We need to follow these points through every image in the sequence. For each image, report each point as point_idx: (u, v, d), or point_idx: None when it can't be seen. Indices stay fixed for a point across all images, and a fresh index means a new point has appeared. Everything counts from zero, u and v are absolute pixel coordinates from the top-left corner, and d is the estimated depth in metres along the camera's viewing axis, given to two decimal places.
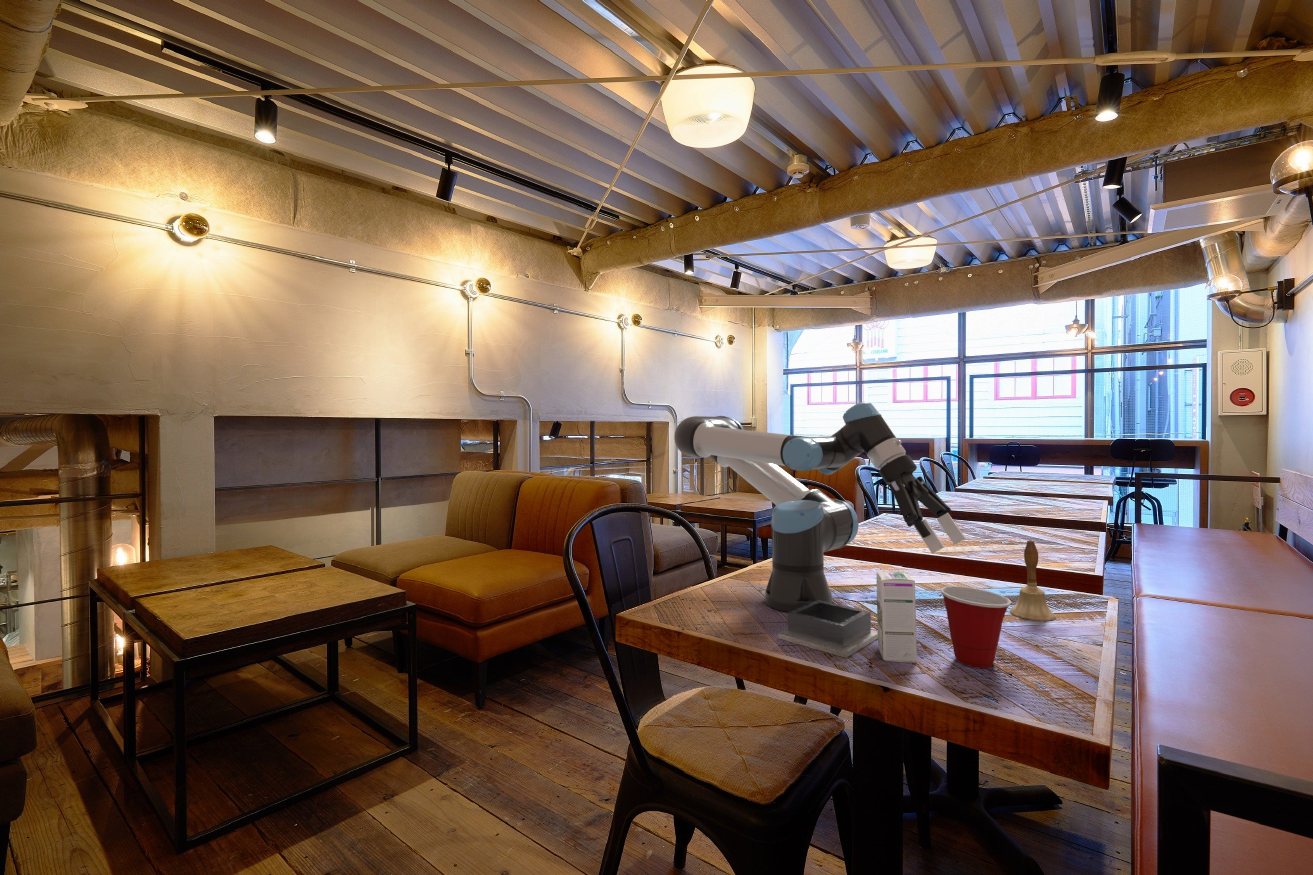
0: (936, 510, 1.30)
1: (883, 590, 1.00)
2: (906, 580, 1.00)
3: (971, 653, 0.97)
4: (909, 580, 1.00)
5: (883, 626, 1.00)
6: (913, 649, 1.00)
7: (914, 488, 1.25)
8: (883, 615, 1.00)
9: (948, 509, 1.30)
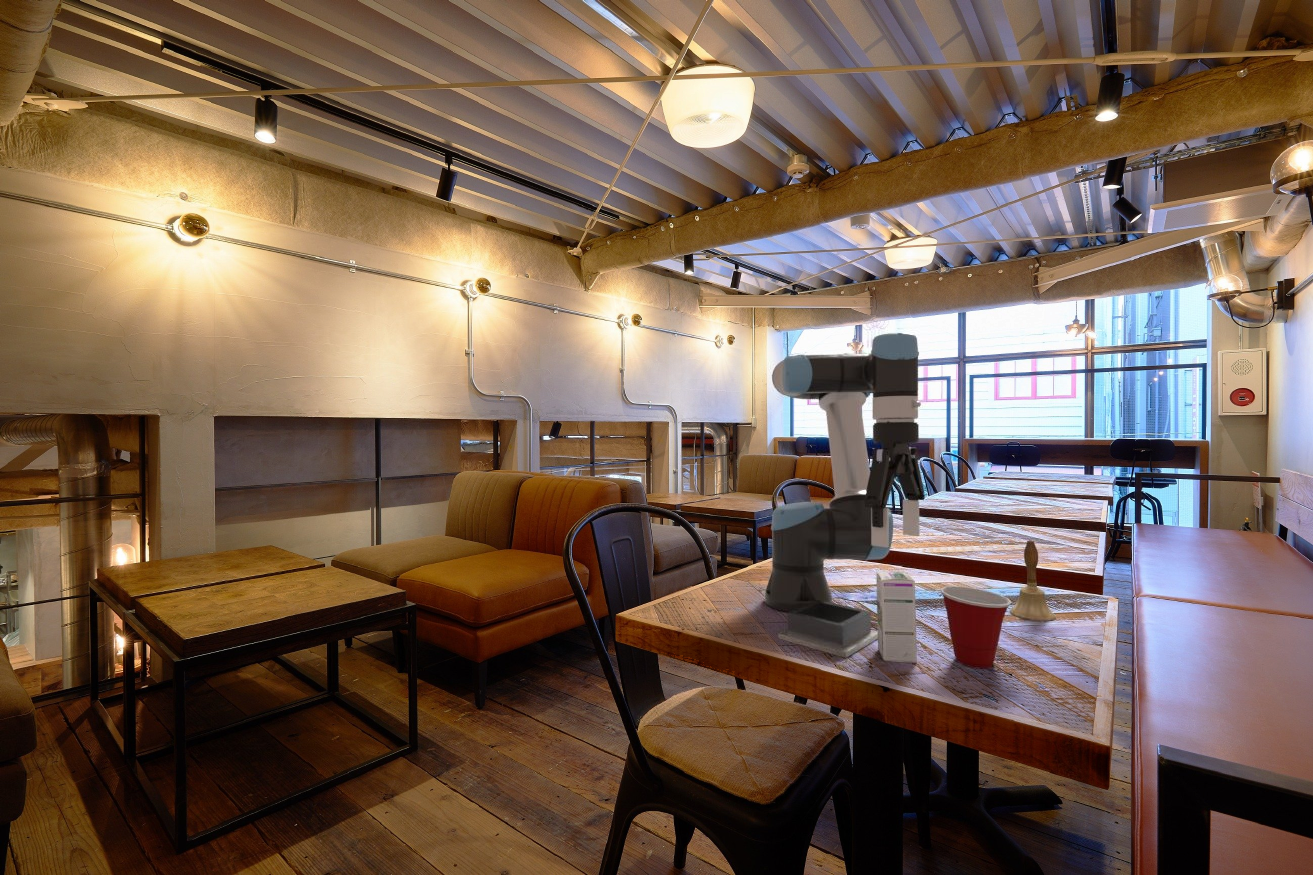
0: (908, 492, 1.07)
1: (883, 590, 1.00)
2: (906, 580, 1.00)
3: (971, 653, 0.97)
4: (909, 580, 1.00)
5: (883, 626, 1.00)
6: (913, 649, 1.00)
7: (899, 466, 0.99)
8: (883, 615, 1.00)
9: (921, 497, 1.07)
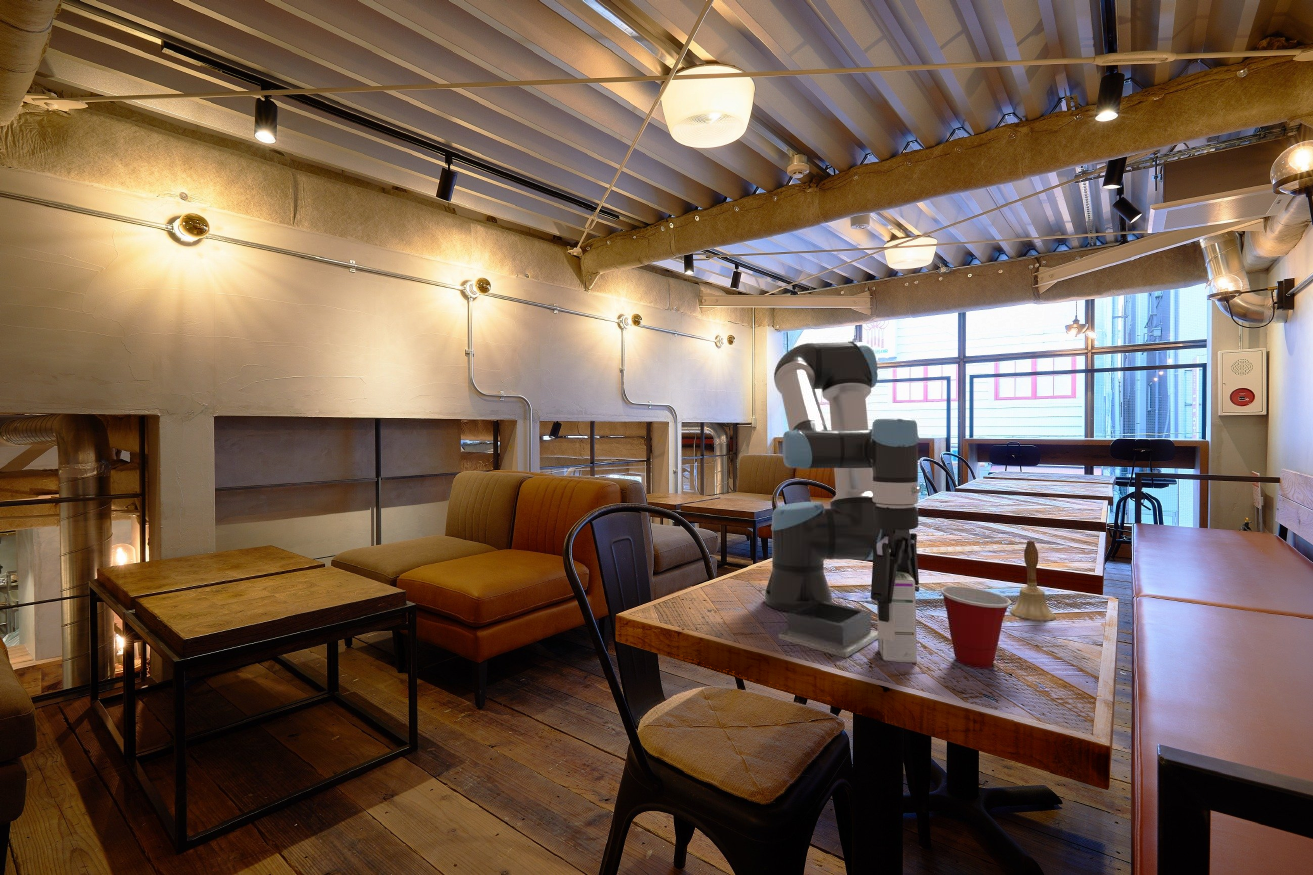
0: None
1: None
2: (906, 580, 1.00)
3: (971, 653, 0.97)
4: (909, 580, 1.00)
5: None
6: (913, 649, 1.00)
7: (900, 554, 1.00)
8: None
9: (916, 588, 1.05)
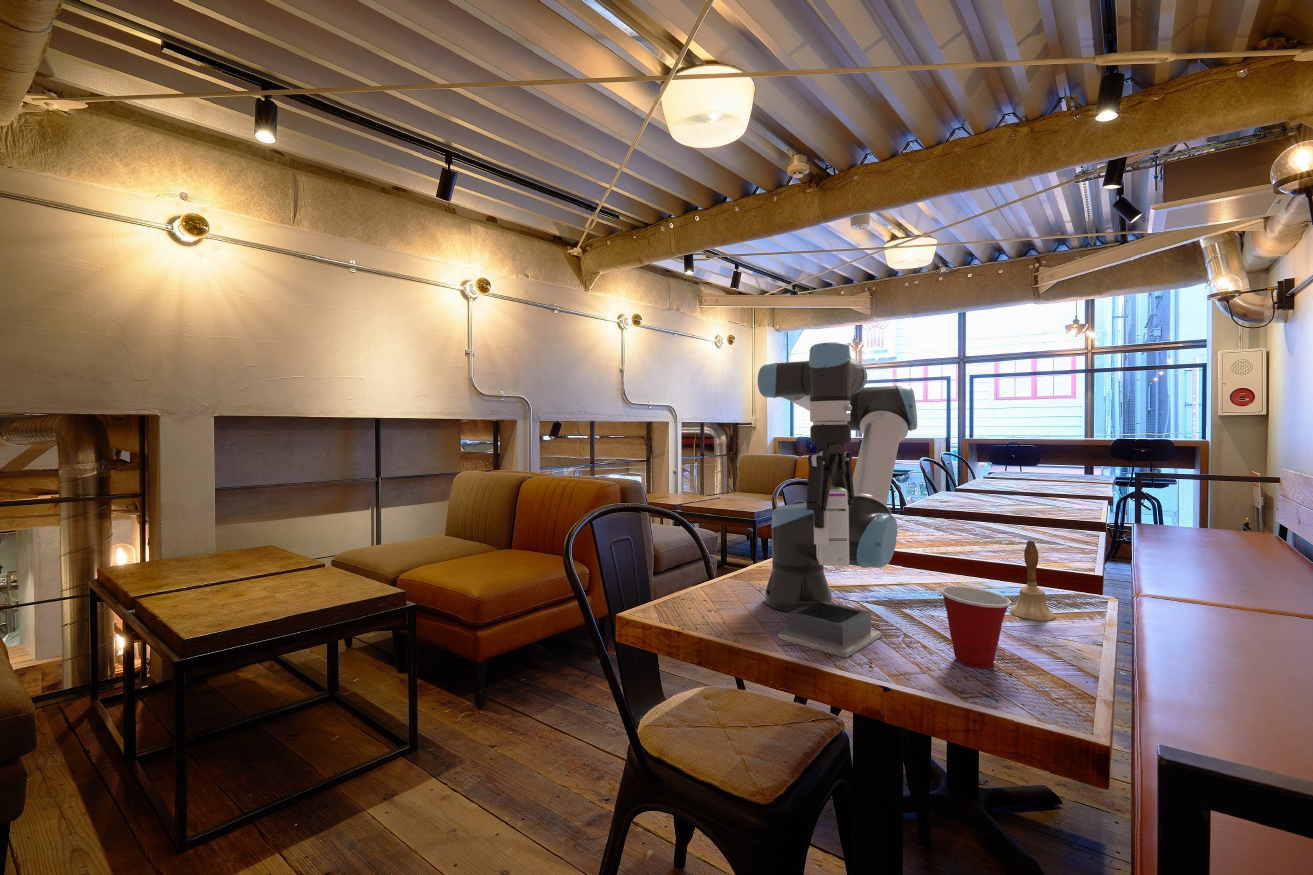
0: None
1: None
2: (839, 490, 1.09)
3: (971, 653, 0.97)
4: (842, 490, 1.09)
5: None
6: (846, 553, 1.09)
7: (833, 466, 1.08)
8: None
9: (851, 502, 1.14)
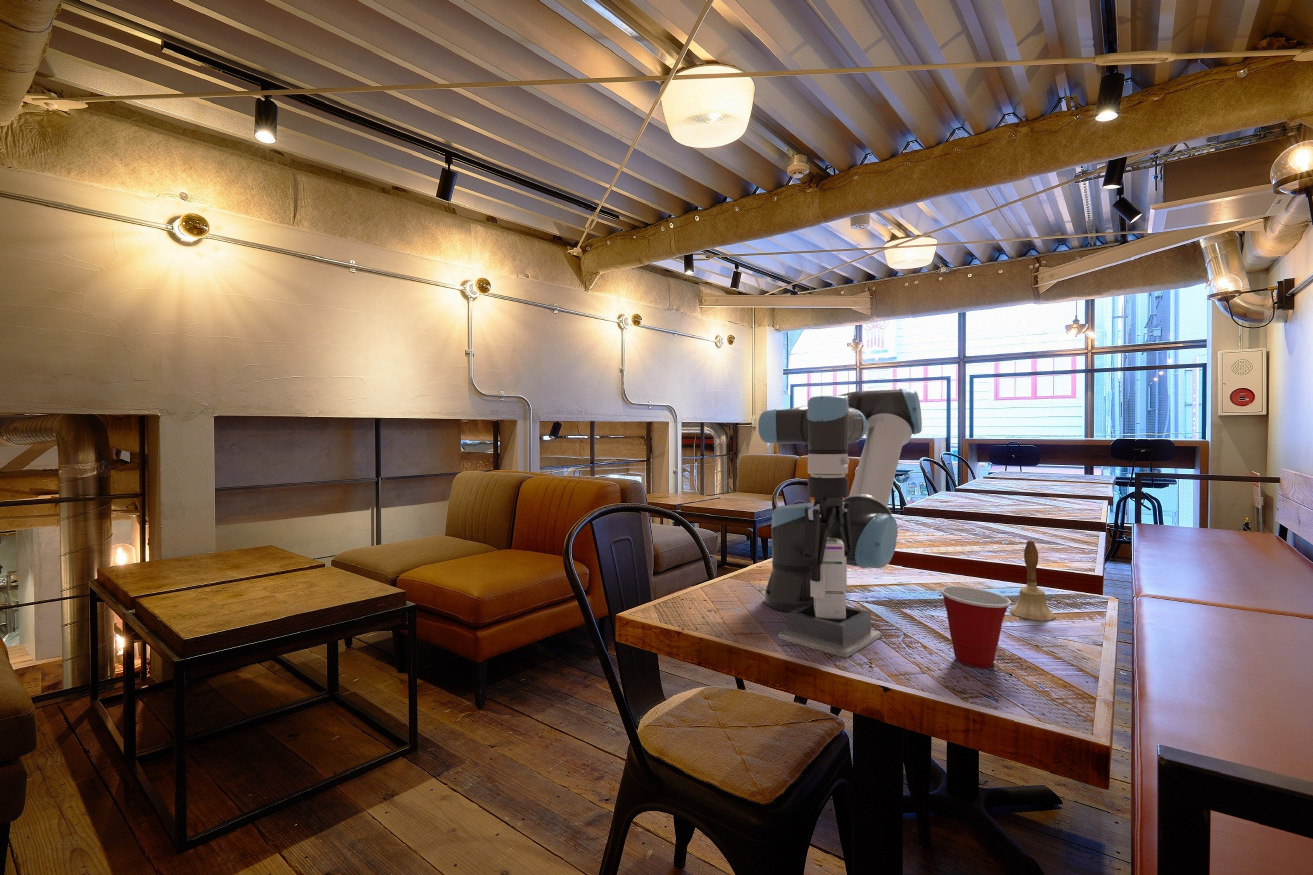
0: None
1: None
2: (836, 543, 1.09)
3: (971, 653, 0.97)
4: (839, 543, 1.09)
5: None
6: (842, 606, 1.09)
7: (830, 519, 1.09)
8: None
9: (849, 553, 1.14)
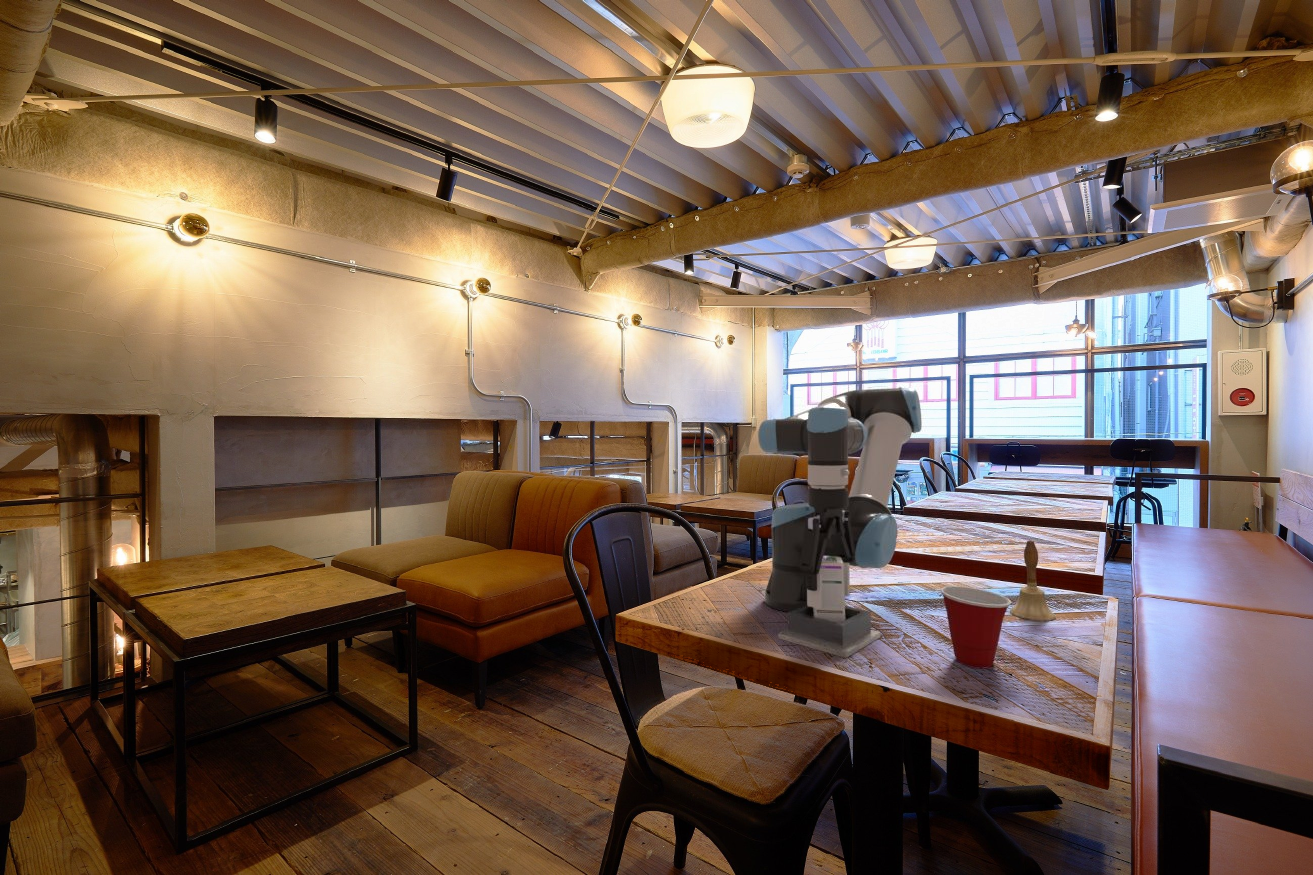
0: (840, 553, 1.15)
1: None
2: (836, 563, 1.09)
3: (971, 653, 0.97)
4: (838, 563, 1.09)
5: None
6: None
7: (830, 530, 1.09)
8: None
9: (852, 559, 1.15)
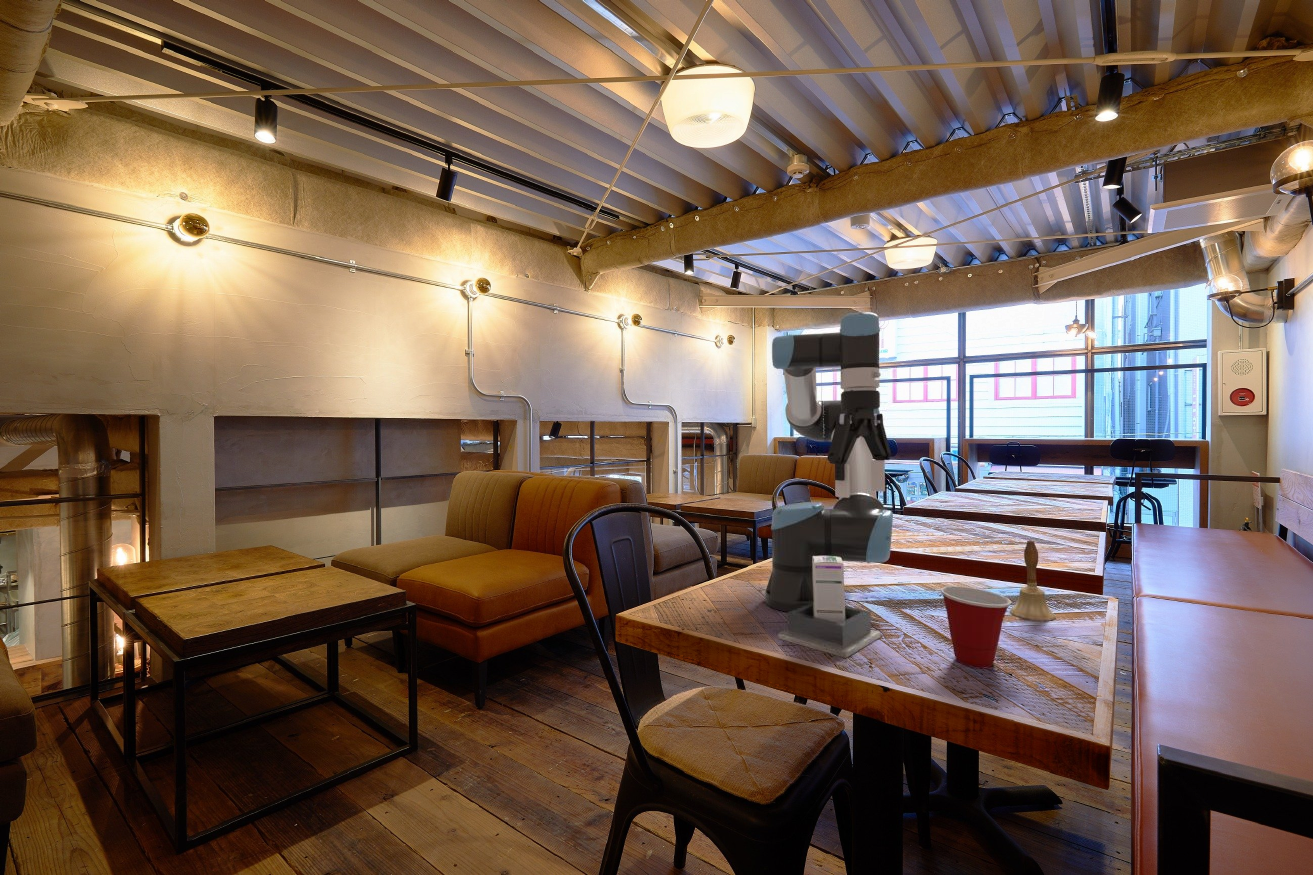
0: (875, 453, 1.22)
1: (815, 572, 1.09)
2: (836, 563, 1.09)
3: (971, 653, 0.97)
4: (838, 563, 1.09)
5: (815, 605, 1.10)
6: None
7: (860, 428, 1.15)
8: (815, 595, 1.10)
9: (887, 457, 1.21)
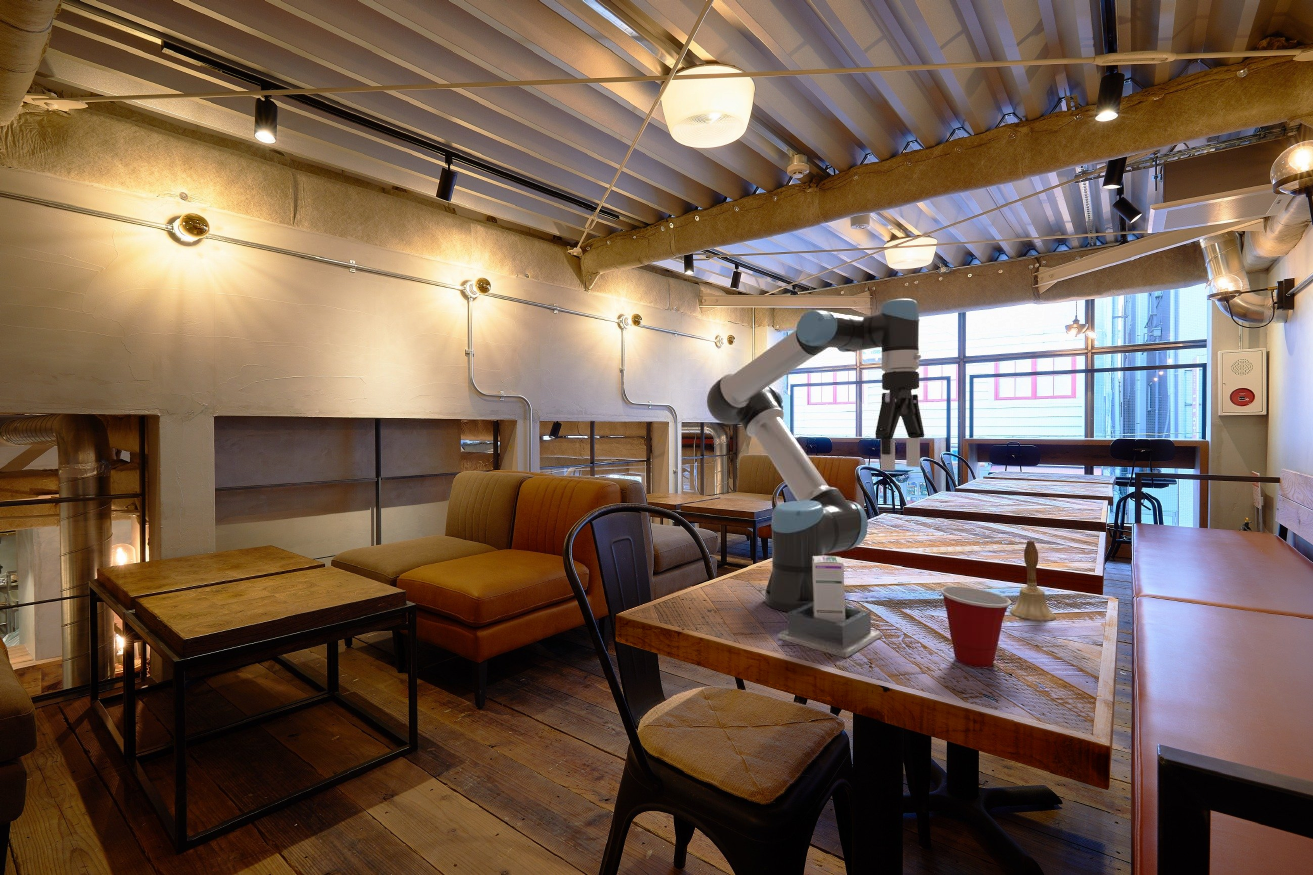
0: (911, 431, 1.31)
1: (815, 572, 1.09)
2: (836, 563, 1.09)
3: (971, 653, 0.97)
4: (838, 563, 1.09)
5: (815, 605, 1.10)
6: None
7: (903, 406, 1.23)
8: (815, 595, 1.10)
9: (922, 435, 1.30)
